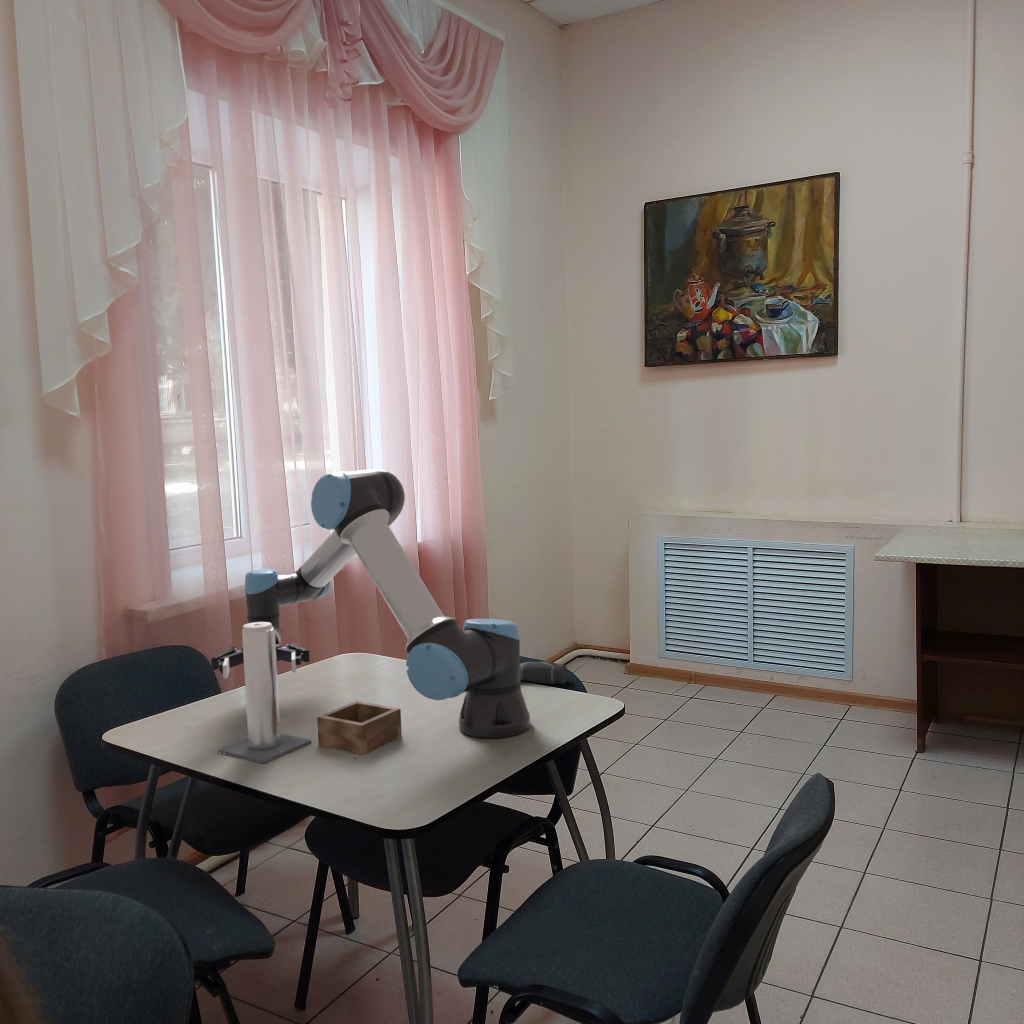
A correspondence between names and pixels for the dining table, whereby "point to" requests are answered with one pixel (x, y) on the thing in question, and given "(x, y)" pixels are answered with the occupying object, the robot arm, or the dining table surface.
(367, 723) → the square wooden frame
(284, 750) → the mat
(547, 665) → the power drill
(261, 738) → the shiny metal cylinder
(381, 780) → the dining table surface
